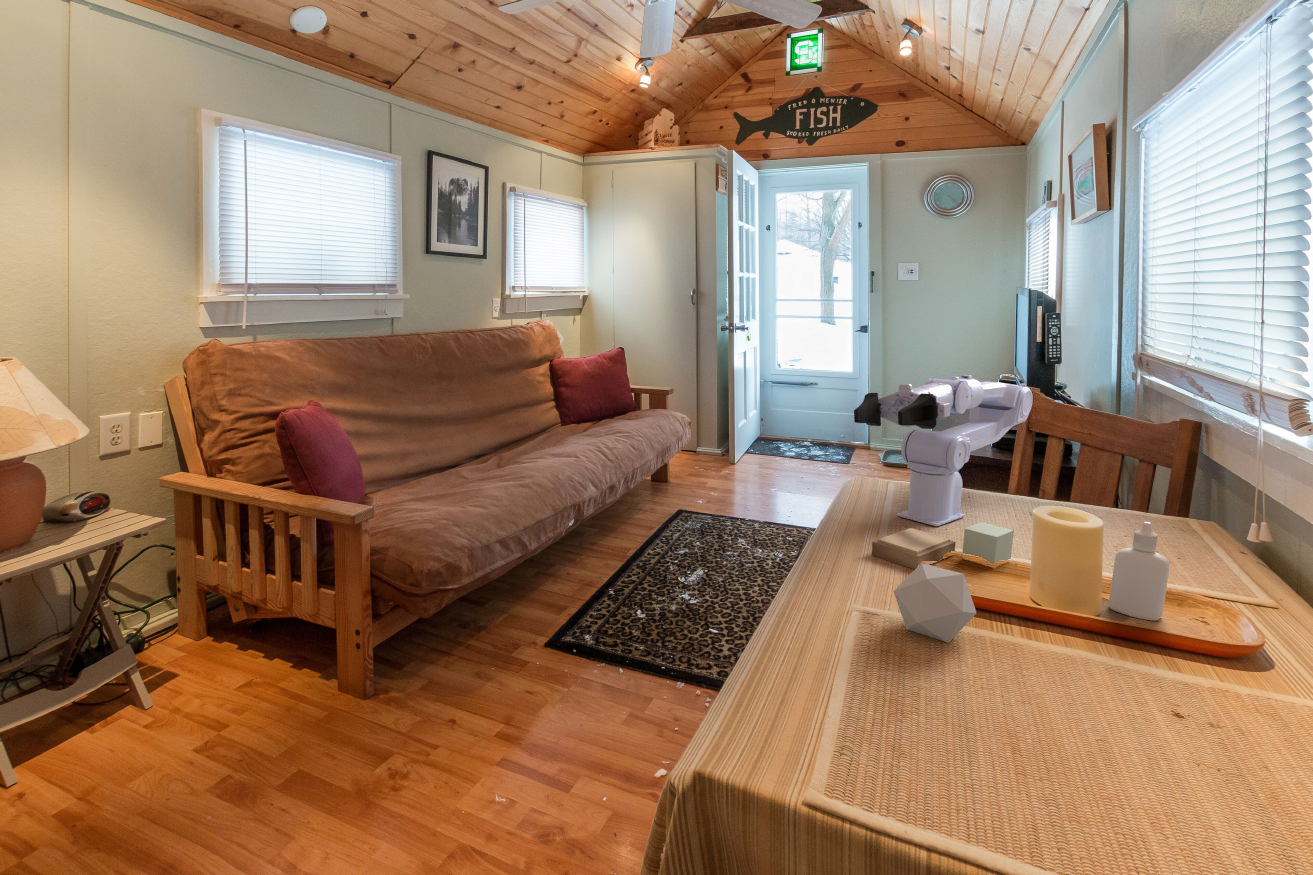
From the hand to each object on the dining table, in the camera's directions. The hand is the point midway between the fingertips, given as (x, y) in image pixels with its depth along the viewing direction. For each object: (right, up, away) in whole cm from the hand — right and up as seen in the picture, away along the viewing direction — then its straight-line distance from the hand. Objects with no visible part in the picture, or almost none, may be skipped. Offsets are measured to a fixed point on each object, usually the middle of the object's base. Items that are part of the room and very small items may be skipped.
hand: (877, 417), depth 112 cm
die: (-2, -27, -26) cm, 37 cm away
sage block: (+16, -22, -3) cm, 27 cm away
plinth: (+5, -21, -1) cm, 22 cm away
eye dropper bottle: (+26, -26, -21) cm, 42 cm away
